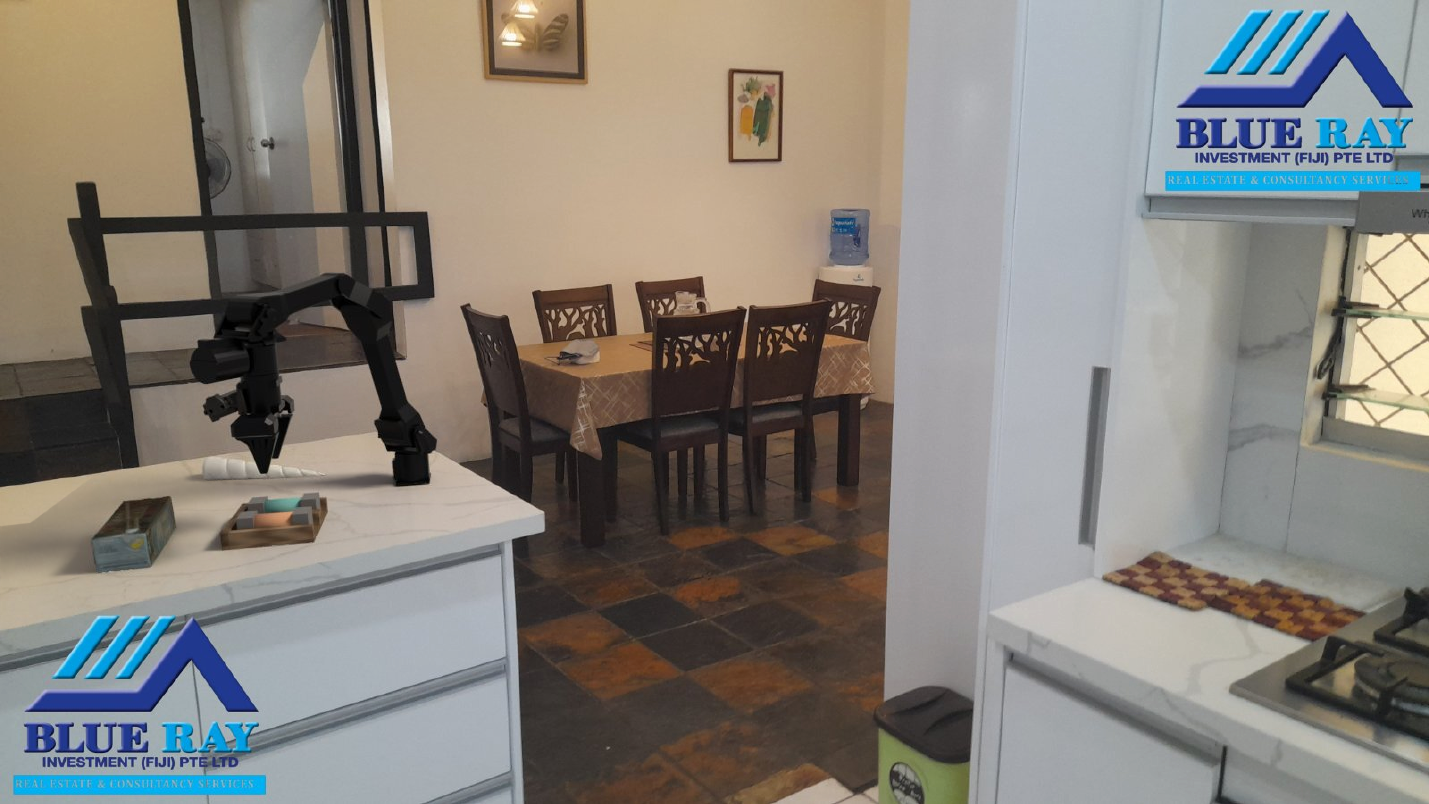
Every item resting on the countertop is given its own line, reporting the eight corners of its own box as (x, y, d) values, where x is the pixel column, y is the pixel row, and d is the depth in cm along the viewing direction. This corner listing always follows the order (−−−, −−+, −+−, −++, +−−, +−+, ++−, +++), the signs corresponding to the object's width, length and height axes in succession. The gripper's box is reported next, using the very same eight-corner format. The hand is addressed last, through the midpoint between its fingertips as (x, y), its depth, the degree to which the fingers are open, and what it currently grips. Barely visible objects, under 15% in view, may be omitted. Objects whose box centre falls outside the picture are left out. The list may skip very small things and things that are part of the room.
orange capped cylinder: (313, 527, 164) (311, 506, 163) (310, 535, 160) (307, 513, 160) (243, 533, 161) (241, 511, 161) (238, 541, 158) (236, 519, 157)
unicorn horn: (318, 482, 193) (315, 459, 192) (200, 483, 193) (198, 460, 192) (327, 475, 197) (325, 453, 196) (213, 476, 198) (210, 454, 197)
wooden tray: (327, 511, 174) (326, 497, 173) (314, 542, 159) (312, 526, 158) (244, 518, 171) (242, 503, 170) (221, 550, 155) (219, 533, 155)
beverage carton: (93, 575, 146) (86, 534, 145) (126, 534, 164) (120, 497, 162) (152, 569, 148) (146, 528, 147) (178, 529, 166) (173, 492, 165)
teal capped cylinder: (321, 512, 172) (319, 492, 171) (317, 519, 168) (315, 498, 167) (254, 518, 169) (252, 497, 168) (249, 525, 165) (247, 504, 165)
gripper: (219, 365, 162) (230, 454, 165) (188, 386, 144) (201, 486, 148) (290, 362, 165) (299, 450, 168) (268, 382, 147) (278, 480, 150)
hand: (269, 466), depth 158 cm, fingers open, 9 cm apart
